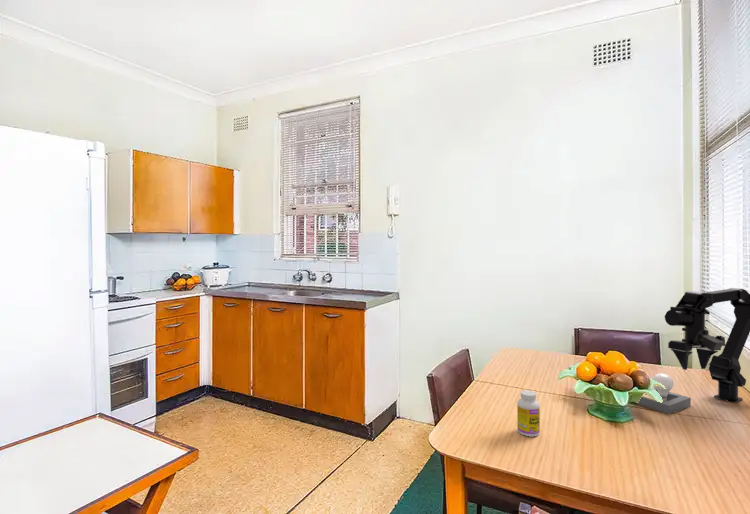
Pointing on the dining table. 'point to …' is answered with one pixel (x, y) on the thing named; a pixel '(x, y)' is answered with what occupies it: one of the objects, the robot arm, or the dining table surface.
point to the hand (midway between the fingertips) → (694, 369)
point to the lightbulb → (664, 381)
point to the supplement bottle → (528, 414)
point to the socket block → (666, 403)
